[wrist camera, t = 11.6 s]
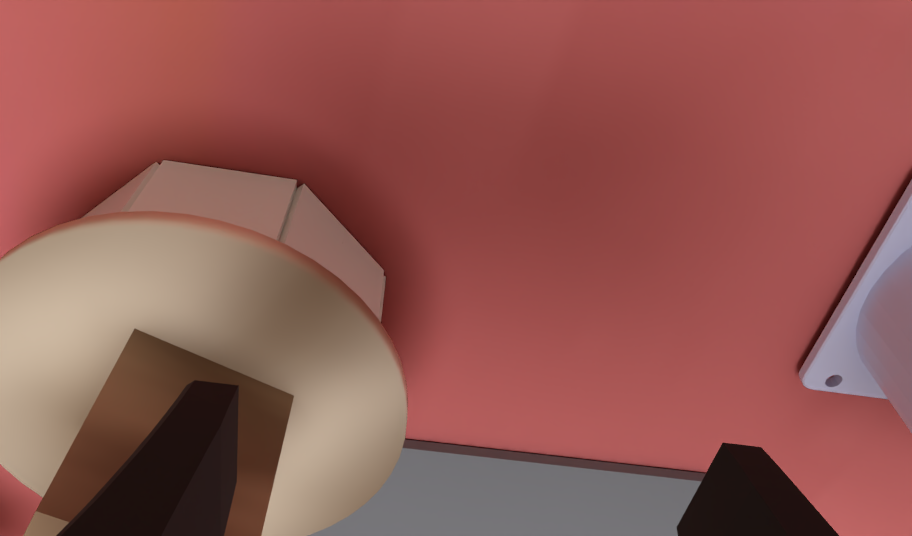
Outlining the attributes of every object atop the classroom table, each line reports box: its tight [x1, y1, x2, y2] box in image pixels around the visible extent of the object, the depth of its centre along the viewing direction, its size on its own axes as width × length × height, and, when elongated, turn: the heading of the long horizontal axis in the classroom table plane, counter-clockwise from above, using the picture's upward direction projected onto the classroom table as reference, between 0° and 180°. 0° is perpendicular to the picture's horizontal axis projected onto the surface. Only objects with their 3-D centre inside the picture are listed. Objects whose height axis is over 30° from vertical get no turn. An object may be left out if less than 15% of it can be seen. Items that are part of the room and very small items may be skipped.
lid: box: [0, 211, 408, 536], centre depth 17 cm, size 11×11×6 cm
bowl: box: [82, 160, 386, 322], centre depth 21 cm, size 9×9×4 cm
